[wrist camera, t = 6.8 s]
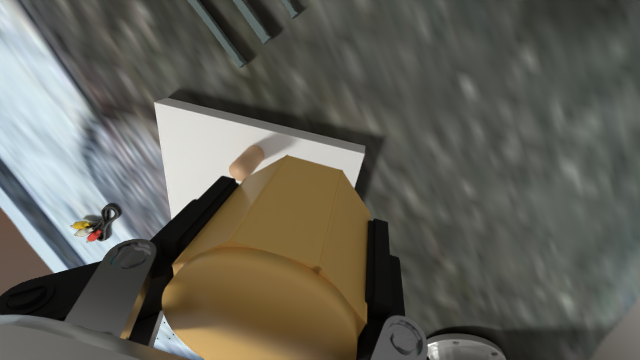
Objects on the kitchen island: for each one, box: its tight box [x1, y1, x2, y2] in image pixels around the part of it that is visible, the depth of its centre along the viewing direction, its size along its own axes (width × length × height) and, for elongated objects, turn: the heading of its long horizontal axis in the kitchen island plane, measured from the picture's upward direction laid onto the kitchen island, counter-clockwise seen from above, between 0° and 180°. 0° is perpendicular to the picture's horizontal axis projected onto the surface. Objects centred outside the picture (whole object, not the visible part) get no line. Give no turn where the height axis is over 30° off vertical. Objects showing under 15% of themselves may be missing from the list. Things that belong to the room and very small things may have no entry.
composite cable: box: [70, 204, 120, 243], centre depth 41 cm, size 10×5×2 cm, turn 120°
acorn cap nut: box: [162, 155, 370, 360], centre depth 10 cm, size 6×6×6 cm
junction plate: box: [154, 98, 365, 219], centre depth 30 cm, size 22×16×6 cm
